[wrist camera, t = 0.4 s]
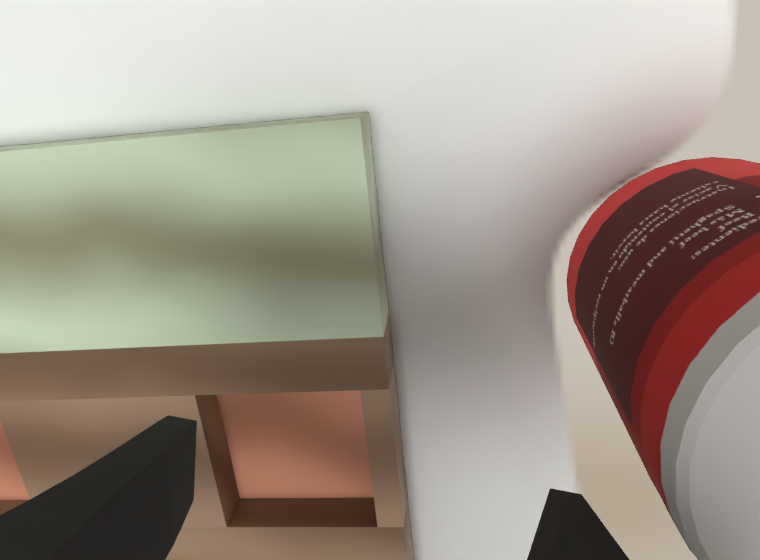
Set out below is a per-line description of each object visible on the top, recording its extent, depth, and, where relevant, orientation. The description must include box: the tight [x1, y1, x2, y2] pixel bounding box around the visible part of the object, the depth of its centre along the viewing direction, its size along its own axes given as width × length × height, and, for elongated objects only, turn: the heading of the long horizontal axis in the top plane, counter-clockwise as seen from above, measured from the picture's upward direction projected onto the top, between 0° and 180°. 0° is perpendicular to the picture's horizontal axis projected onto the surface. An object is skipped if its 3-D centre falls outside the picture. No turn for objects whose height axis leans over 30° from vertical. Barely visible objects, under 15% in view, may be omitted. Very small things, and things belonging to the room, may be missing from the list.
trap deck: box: [0, 112, 414, 560], centre depth 23 cm, size 24×22×2 cm
